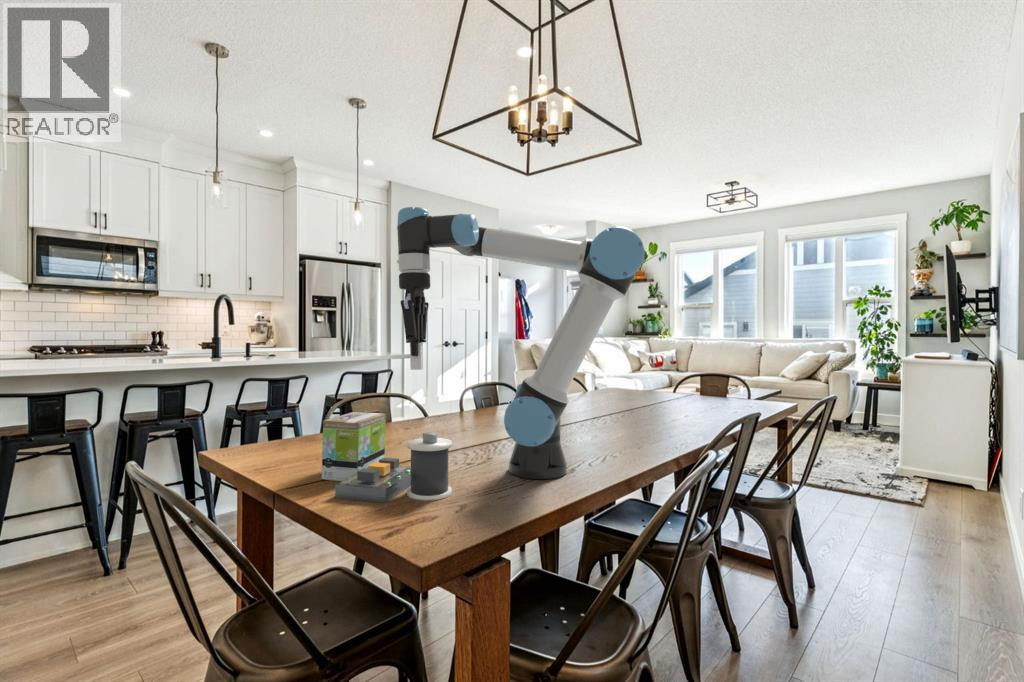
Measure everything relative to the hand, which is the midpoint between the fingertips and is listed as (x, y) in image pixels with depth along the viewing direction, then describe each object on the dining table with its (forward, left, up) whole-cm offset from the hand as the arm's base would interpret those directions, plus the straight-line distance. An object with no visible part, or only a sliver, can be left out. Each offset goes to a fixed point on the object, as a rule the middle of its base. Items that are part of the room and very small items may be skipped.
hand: (416, 369), depth 127 cm
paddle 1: (+5, +14, -23) cm, 27 cm away
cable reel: (-7, +9, -27) cm, 30 cm away
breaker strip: (+5, +9, -27) cm, 29 cm away
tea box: (+17, -1, -28) cm, 33 cm away
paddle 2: (+5, +4, -23) cm, 24 cm away
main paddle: (+5, +9, -23) cm, 25 cm away
